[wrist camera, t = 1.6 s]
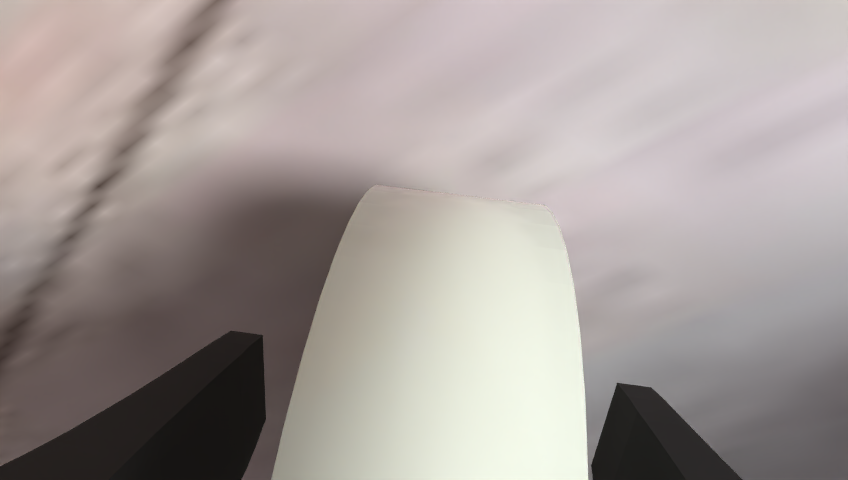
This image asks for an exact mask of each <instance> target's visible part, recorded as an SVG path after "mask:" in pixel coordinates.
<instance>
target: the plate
mask: <svg viewBox="0 0 848 480" xmlns="http://www.w3.org/2000/svg"><path fill="white" fill-rule="evenodd" d="M271 480H588V457H587V431H586V404H585V387H584V375H583V362H582V350H581V337H580V328H579V320H578V313H577V305H576V298H575V290H574V283H573V279H572V274H571V269H570V264H569V259H568V254H567V249H566V246H565V243H564V240H563V237H562V233H561V230H560V227H559V225H558V223H557V221H556V219H555V217H554V215H553V213H552V212H551V211H550V210H549V209H548V208H547V207H546V206H545V205H540V204H531V203H523V202H515V201H507V200H498V199H490V198H482V197H474V196H465V195H457V194H449V193H441V192H432V191H424V190H416V189H408V188H399V187H391V186H383V185H374V186H373V187H371V188H370V189H368V191H367V192H366V193H365V195H364V196H363V197H362V199H361V200H360V201H359V203H358V205H357V207H356V209H355V211H354V213H353V215H352V217H351V218H350V220H349V222H348V224H347V227H346V229H345V232H344V234H343V236H342V239H341V241H340V244H339V246H338V249H337V251H336V253H335V256H334V259H333V262H332V264H331V267H330V270H329V273H328V276H327V279H326V282H325V285H324V287H323V290H322V293H321V296H320V299H319V302H318V305H317V309H316V312H315V315H314V319H313V322H312V325H311V329H310V332H309V335H308V339H307V342H306V345H305V349H304V352H303V355H302V359H301V363H300V366H299V370H298V374H297V378H296V382H295V385H294V389H293V393H292V397H291V400H290V404H289V408H288V412H287V416H286V419H285V423H284V427H283V431H282V435H281V440H280V444H279V448H278V453H277V457H276V461H275V466H274V470H273V474H272V479H271Z"/></svg>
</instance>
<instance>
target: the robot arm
mask: <svg viewBox="0 0 848 480" xmlns="http://www.w3.org/2000/svg"><path fill="white" fill-rule="evenodd" d="M265 420H266V411H265V385H264V360H263V335H258V334H250V333H243V332H235V331H230V332H228V333H227V334H225V335H223V336H222V337H220V338H218V339H217V340H215V341H214V342H212V343H211V344H209V345H208V346H206V347H204V348H203V349H201V350H200V351H198V352H197V353H195V354H194V355H192V356H191V357H189V358H188V359H186V360H185V361H183V362H182V363H180V364H178V365H177V366H175V367H174V368H172V369H171V370H169V371H168V372H166V373H164V374H163V375H161V376H160V377H158V378H157V379H155V380H153V381H152V382H150V383H149V384H147V385H146V386H144V387H142V388H141V389H139V390H138V391H136V392H135V393H133V394H131V395H130V396H128V397H126V398H125V399H123V400H121V401H119V402H118V403H116V404H114V405H113V406H111V407H109V408H107V409H106V410H104V411H102V412H101V413H99V414H97V415H95V416H94V417H92V418H90V419H89V420H87V421H85V422H83V423H82V424H80V425H78V426H77V427H75V428H73V429H71V430H70V431H68V432H66V433H64V434H62V435H61V436H59V437H57V438H55V439H53V440H51V441H49V442H48V443H46V444H44V445H42V446H40V447H38V448H36V449H34V450H32V451H30V452H28V453H26V454H24V455H22V456H20V457H18V458H16V459H14V460H12V461H10V462H8V463H6V464H4V465H2V466H0V480H241V479H242V477H243V475H244V473H245V471H246V469H247V466H248V464H249V461H250V459H251V456H252V454H253V451H254V449H255V447H256V444H257V441H258V439H259V436H260V433H261V431H262V428H263V425H264V423H265ZM591 467H592V474H593V480H742V479H741V478H740V477H739V476H738V475H737V474H736V473H735V472H734V471H733V470H732V469H731V468H730V467H729V466H728V465H727V464H726V463H725V462H724V461H723V460H722V459H721V458H720V457H719V456H718V455H717V454H716V453H715V452H714V451H713V450H712V449H711V448H710V447H709V446H708V444H707V443H706V442H705V441H704V440H703V439H702V438H701V437H700V436H699V435H698V434H697V433H696V432H695V431H694V430H693V429H692V428H691V427H690V426H689V425H688V424H687V423H686V422H685V421H684V420H683V419H682V418H681V417H680V416H679V415H678V414H677V413H676V411H675V410H674V409H673V408H672V407H671V406H670V405H669V404H668V403H667V402H666V401H665V400H664V399H663V398H662V397H661V396H660V395H659V394H657V393H656V392H655V391H654V390H653V389H652V388H651V387H643V386H636V385H628V384H621V383H617V385H616V389H615V392H614V395H613V398H612V401H611V404H610V408H609V411H608V414H607V417H606V420H605V423H604V427H603V430H602V433H601V436H600V439H599V443H598V446H597V449H596V452H595V455H594V458H593V462H592V465H591Z"/></svg>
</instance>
